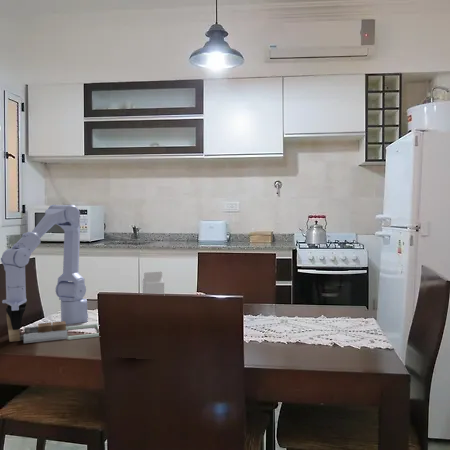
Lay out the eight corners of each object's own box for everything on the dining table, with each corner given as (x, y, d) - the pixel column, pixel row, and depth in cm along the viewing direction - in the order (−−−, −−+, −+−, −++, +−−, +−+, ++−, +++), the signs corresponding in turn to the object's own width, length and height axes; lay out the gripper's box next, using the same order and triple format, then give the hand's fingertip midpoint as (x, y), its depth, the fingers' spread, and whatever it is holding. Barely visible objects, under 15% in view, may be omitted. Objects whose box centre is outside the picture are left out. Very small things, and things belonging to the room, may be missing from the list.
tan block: (30, 335, 151) (26, 308, 150) (29, 339, 146) (26, 312, 145) (10, 339, 148) (7, 312, 148) (9, 343, 144) (5, 315, 143)
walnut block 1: (51, 334, 152) (51, 322, 152) (51, 337, 149) (51, 325, 149) (38, 335, 151) (38, 323, 151) (38, 338, 147) (38, 326, 147)
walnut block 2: (65, 332, 154) (65, 321, 154) (66, 336, 150) (65, 324, 150) (52, 334, 153) (52, 322, 152) (53, 337, 149) (52, 325, 149)
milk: (143, 337, 152) (142, 271, 151) (161, 335, 154) (160, 270, 153) (146, 342, 146) (145, 273, 145) (165, 340, 148) (164, 272, 147)
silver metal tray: (65, 332, 157) (65, 323, 157) (67, 340, 148) (67, 330, 148) (24, 336, 152) (24, 327, 152) (23, 345, 143) (23, 335, 143)
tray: (98, 328, 163) (98, 323, 162) (103, 338, 150) (102, 333, 150) (65, 331, 158) (65, 326, 158) (67, 342, 146) (67, 337, 146)
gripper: (3, 283, 151) (4, 323, 152) (0, 290, 138) (1, 335, 138) (26, 281, 154) (27, 321, 154) (25, 289, 140) (26, 332, 141)
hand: (16, 328), depth 147 cm, fingers closed on tan block, 3 cm apart
